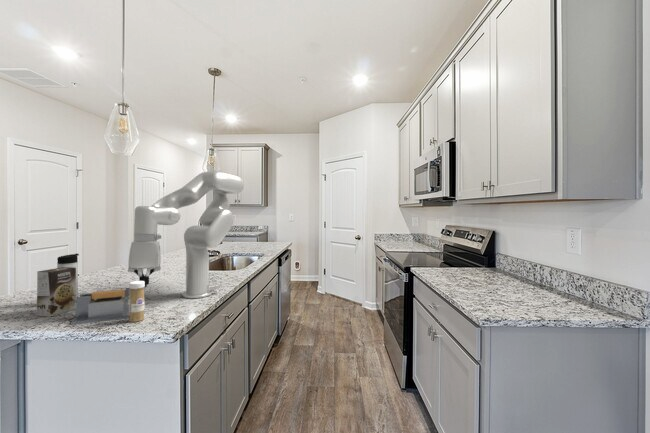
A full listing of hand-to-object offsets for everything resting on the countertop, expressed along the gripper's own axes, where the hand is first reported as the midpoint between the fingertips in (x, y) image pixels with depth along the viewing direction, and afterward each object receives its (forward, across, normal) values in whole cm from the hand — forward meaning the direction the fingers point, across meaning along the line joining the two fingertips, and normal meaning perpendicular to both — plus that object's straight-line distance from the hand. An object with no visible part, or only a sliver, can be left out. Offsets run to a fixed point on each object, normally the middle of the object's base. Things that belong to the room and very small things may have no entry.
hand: (144, 286), depth 111 cm
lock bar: (+3, +10, 0) cm, 11 cm away
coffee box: (+10, +29, -11) cm, 32 cm away
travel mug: (+10, +29, -22) cm, 37 cm away
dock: (+10, +11, -1) cm, 14 cm away
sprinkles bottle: (+10, +1, +9) cm, 14 cm away
